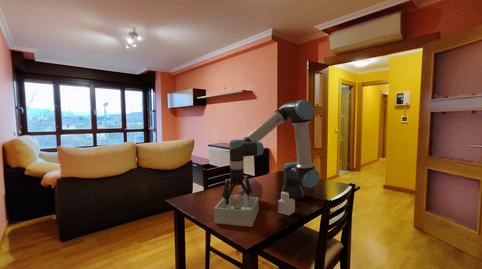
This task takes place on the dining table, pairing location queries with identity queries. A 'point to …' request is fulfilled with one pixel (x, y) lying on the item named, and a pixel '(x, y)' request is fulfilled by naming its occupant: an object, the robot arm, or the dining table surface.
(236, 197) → the dowel
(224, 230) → the dining table surface
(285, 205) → the medicine bottle
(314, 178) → the robot arm
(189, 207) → the dining table surface
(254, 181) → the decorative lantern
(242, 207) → the box
